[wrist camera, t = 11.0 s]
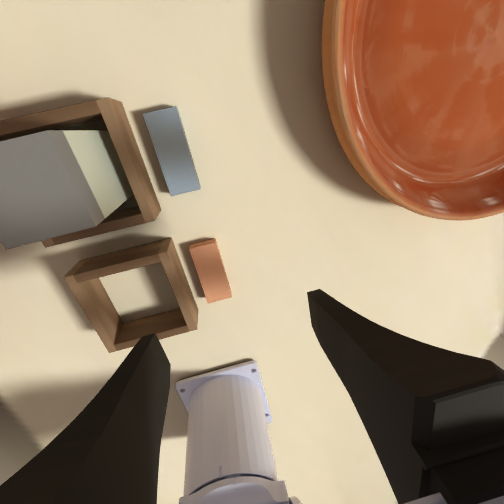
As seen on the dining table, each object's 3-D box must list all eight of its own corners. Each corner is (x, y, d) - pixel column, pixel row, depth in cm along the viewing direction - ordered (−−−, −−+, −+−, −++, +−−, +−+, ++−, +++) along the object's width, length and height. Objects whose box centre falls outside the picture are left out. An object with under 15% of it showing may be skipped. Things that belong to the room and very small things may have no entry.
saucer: (606, -446, 11) (778, -693, 8) (664, 47, 20) (755, 31, 17) (231, 28, 16) (238, 1, 12) (414, 258, 25) (447, 278, 21)
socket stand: (233, 300, 23) (236, 318, 21) (119, 330, 23) (109, 352, 20) (172, 90, 16) (166, 84, 14) (5, 127, 16) (-28, 127, 13)
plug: (134, 193, 18) (95, 226, 12) (75, 208, 18) (5, 249, 12) (108, 130, 17) (47, 130, 10) (43, 145, 16) (-60, 155, 10)
